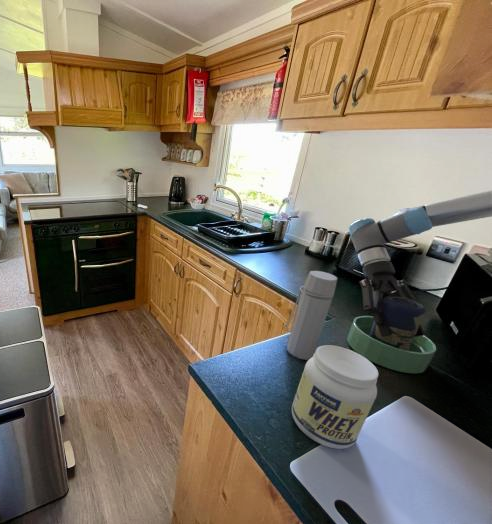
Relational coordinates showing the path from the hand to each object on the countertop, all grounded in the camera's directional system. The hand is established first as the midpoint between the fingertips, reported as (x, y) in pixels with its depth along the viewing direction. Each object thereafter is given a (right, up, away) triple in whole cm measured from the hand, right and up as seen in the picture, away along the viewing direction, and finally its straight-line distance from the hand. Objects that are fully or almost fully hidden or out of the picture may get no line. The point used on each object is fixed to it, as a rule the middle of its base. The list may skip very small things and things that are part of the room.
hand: (403, 335), depth 82 cm
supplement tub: (-36, -14, -21) cm, 44 cm away
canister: (-1, -6, +6) cm, 8 cm away
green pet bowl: (-1, -7, +6) cm, 9 cm away
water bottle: (-29, -6, +3) cm, 30 cm away
